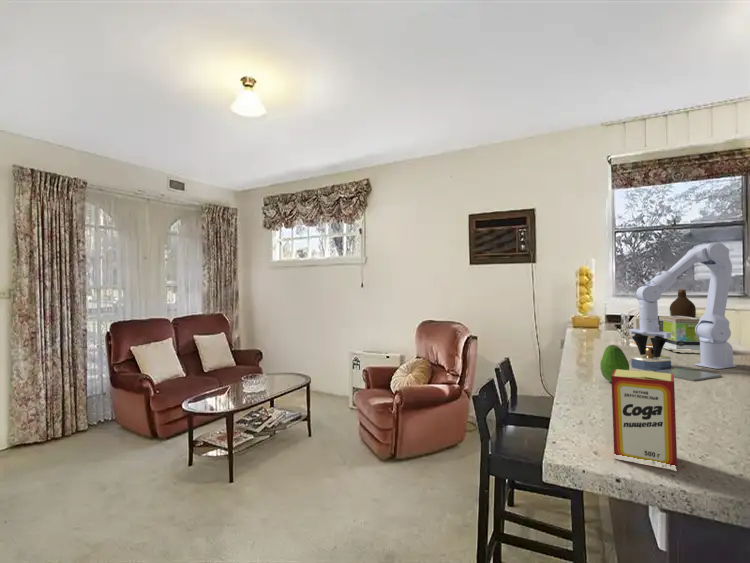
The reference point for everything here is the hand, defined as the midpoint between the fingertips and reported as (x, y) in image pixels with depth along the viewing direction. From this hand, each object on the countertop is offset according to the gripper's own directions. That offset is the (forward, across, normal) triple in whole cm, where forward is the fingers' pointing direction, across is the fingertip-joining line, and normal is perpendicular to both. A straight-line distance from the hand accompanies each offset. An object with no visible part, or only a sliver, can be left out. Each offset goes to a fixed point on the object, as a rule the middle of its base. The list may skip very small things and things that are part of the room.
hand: (649, 355), depth 149 cm
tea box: (+4, -17, +39) cm, 43 cm away
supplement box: (+4, -35, +41) cm, 54 cm away
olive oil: (+4, -38, +71) cm, 81 cm away
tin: (+4, 0, 0) cm, 4 cm away
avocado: (+4, +11, -29) cm, 31 cm away
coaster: (+4, +14, -1) cm, 14 cm away
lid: (+1, 0, 0) cm, 1 cm away
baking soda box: (+4, +54, -70) cm, 89 cm away
